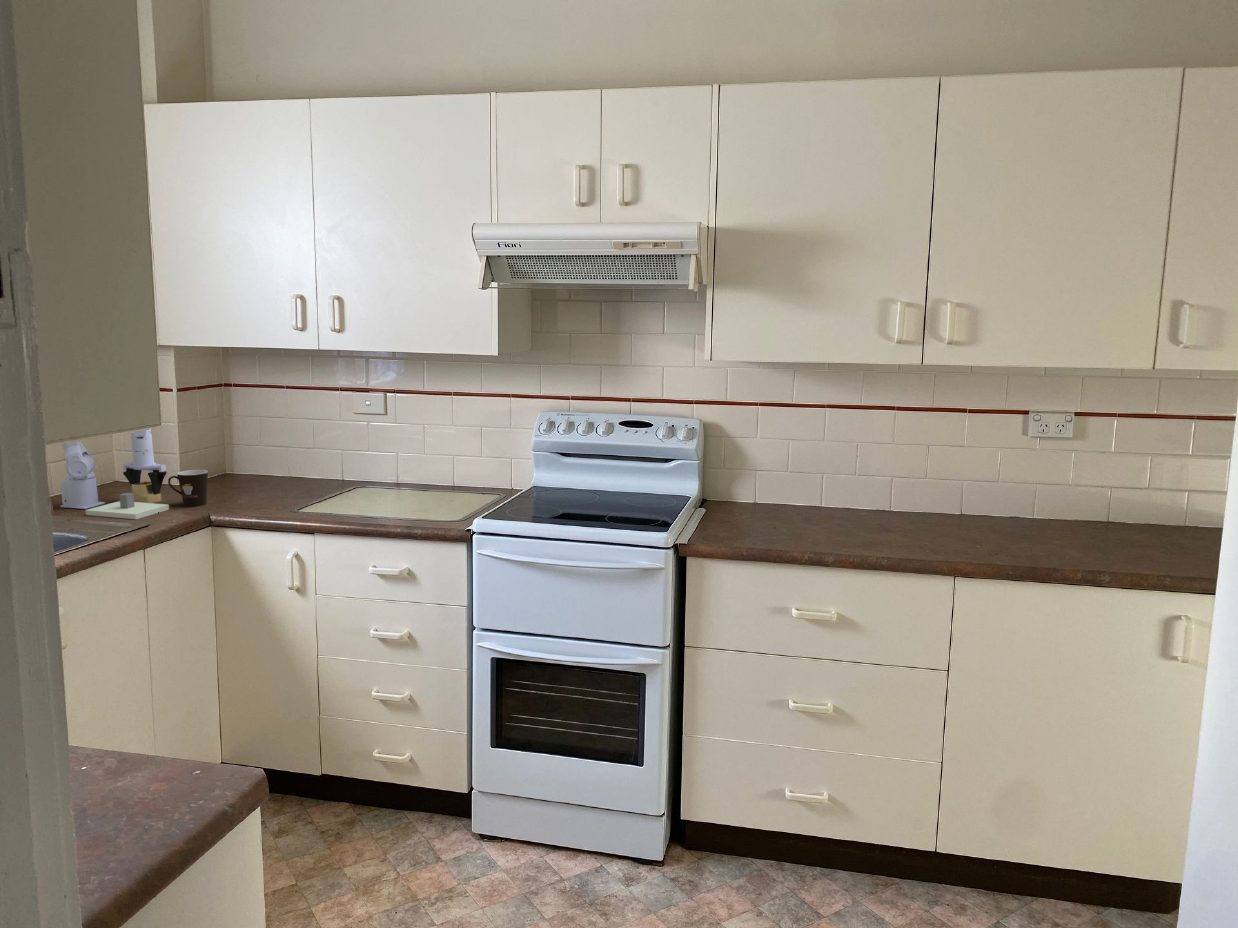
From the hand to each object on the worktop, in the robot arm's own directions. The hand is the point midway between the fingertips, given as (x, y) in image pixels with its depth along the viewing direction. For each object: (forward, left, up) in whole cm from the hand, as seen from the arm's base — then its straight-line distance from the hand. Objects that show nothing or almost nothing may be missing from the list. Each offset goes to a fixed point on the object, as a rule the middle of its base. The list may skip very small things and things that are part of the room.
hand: (146, 493), depth 293 cm
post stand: (+5, -13, -3) cm, 14 cm away
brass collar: (0, 0, -3) cm, 3 cm away
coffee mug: (+15, +2, -3) cm, 15 cm away
